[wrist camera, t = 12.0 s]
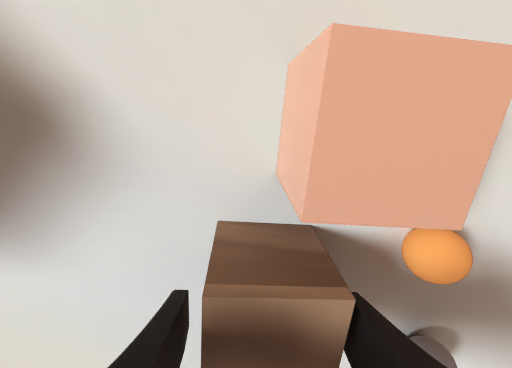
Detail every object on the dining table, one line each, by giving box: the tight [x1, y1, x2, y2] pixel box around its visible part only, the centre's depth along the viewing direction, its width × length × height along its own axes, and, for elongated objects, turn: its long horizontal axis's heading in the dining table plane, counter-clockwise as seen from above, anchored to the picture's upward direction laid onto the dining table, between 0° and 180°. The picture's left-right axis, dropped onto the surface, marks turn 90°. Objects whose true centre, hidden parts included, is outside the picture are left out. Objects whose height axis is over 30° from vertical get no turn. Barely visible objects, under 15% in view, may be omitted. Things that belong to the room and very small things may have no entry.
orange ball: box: [402, 228, 473, 284], centre depth 13 cm, size 3×3×3 cm
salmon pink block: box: [276, 23, 512, 230], centre depth 9 cm, size 5×5×6 cm
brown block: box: [201, 221, 356, 368], centre depth 11 cm, size 5×5×6 cm
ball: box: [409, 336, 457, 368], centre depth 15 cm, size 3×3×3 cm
